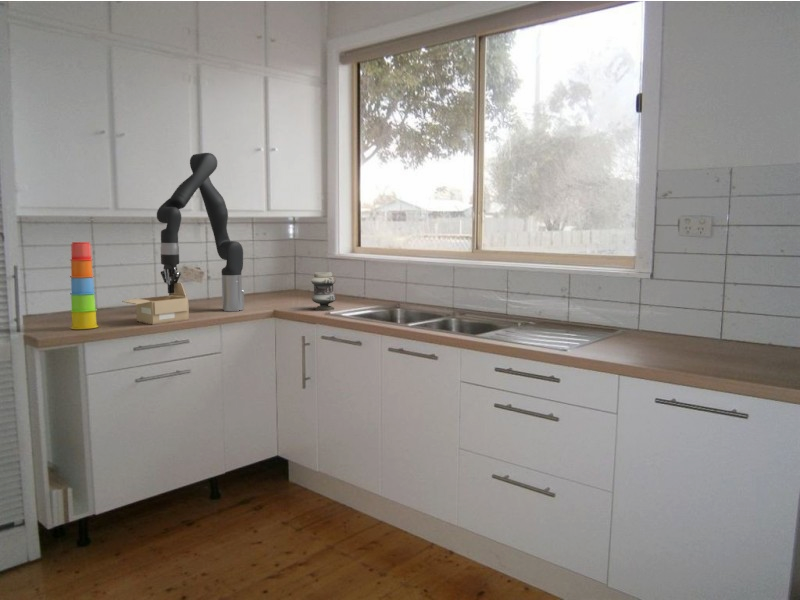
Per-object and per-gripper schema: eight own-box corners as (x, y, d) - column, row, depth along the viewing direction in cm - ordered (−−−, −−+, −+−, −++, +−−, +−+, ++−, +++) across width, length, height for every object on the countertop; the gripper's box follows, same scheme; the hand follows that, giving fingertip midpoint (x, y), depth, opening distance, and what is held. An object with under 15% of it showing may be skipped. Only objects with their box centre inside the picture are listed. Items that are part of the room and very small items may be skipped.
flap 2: (171, 293, 285) (167, 280, 283) (186, 295, 278) (181, 282, 275) (170, 293, 285) (166, 281, 283) (185, 295, 277) (180, 283, 275)
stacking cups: (64, 328, 256) (59, 242, 252) (88, 325, 265) (83, 241, 261) (80, 331, 251) (74, 242, 247) (104, 327, 260) (99, 242, 255)
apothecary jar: (316, 307, 320) (315, 271, 318) (339, 307, 318) (339, 271, 316) (308, 310, 309) (307, 273, 306) (332, 311, 306) (331, 273, 304)
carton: (171, 316, 288) (170, 295, 287) (189, 320, 278) (188, 297, 277) (136, 321, 275) (135, 298, 274) (153, 325, 266) (152, 301, 265)
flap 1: (135, 298, 273) (122, 300, 268) (149, 300, 265) (136, 303, 261) (135, 299, 273) (122, 301, 268) (150, 301, 265) (136, 304, 261)
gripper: (186, 253, 275) (187, 293, 277) (169, 252, 284) (171, 291, 286) (169, 254, 269) (171, 295, 271) (154, 253, 278) (155, 292, 280)
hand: (171, 293), depth 279 cm, fingers closed
